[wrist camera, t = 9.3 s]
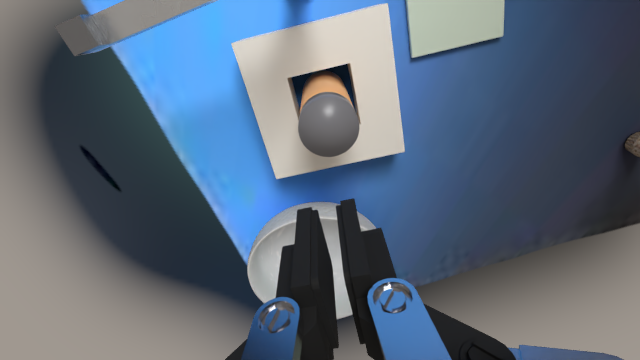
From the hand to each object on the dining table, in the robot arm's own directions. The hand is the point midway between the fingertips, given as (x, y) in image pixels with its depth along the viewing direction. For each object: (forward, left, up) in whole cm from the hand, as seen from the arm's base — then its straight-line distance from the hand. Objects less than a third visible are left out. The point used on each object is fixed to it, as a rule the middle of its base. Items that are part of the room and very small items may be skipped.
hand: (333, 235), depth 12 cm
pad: (-14, -6, -25) cm, 29 cm away
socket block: (0, -3, -25) cm, 25 cm away
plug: (0, 0, -25) cm, 25 cm away
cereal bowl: (+5, +19, -25) cm, 32 cm away
